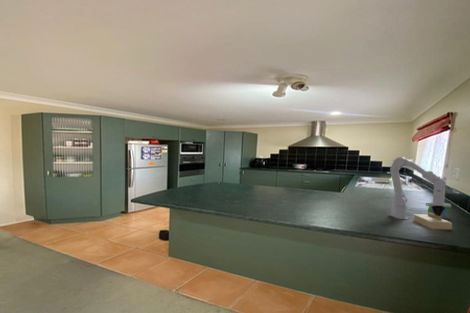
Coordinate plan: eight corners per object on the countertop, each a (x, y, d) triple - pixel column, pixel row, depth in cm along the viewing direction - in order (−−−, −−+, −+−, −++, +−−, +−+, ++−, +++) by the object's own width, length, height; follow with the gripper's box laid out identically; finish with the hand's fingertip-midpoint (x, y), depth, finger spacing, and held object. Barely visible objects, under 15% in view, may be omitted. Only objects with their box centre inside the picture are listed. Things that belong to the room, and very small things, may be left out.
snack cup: (433, 219, 165) (434, 205, 165) (421, 215, 176) (422, 202, 175) (455, 220, 165) (456, 206, 165) (442, 215, 176) (443, 202, 175)
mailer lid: (412, 214, 162) (413, 210, 162) (430, 215, 161) (431, 211, 161) (430, 222, 146) (430, 217, 146) (450, 223, 145) (450, 218, 145)
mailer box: (413, 220, 162) (414, 214, 162) (431, 221, 161) (432, 215, 161) (431, 228, 146) (432, 222, 146) (451, 229, 145) (452, 223, 145)
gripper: (432, 197, 149) (430, 218, 150) (455, 198, 148) (454, 219, 149) (423, 195, 156) (422, 215, 157) (446, 196, 155) (444, 216, 156)
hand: (437, 217), depth 153 cm, fingers closed
